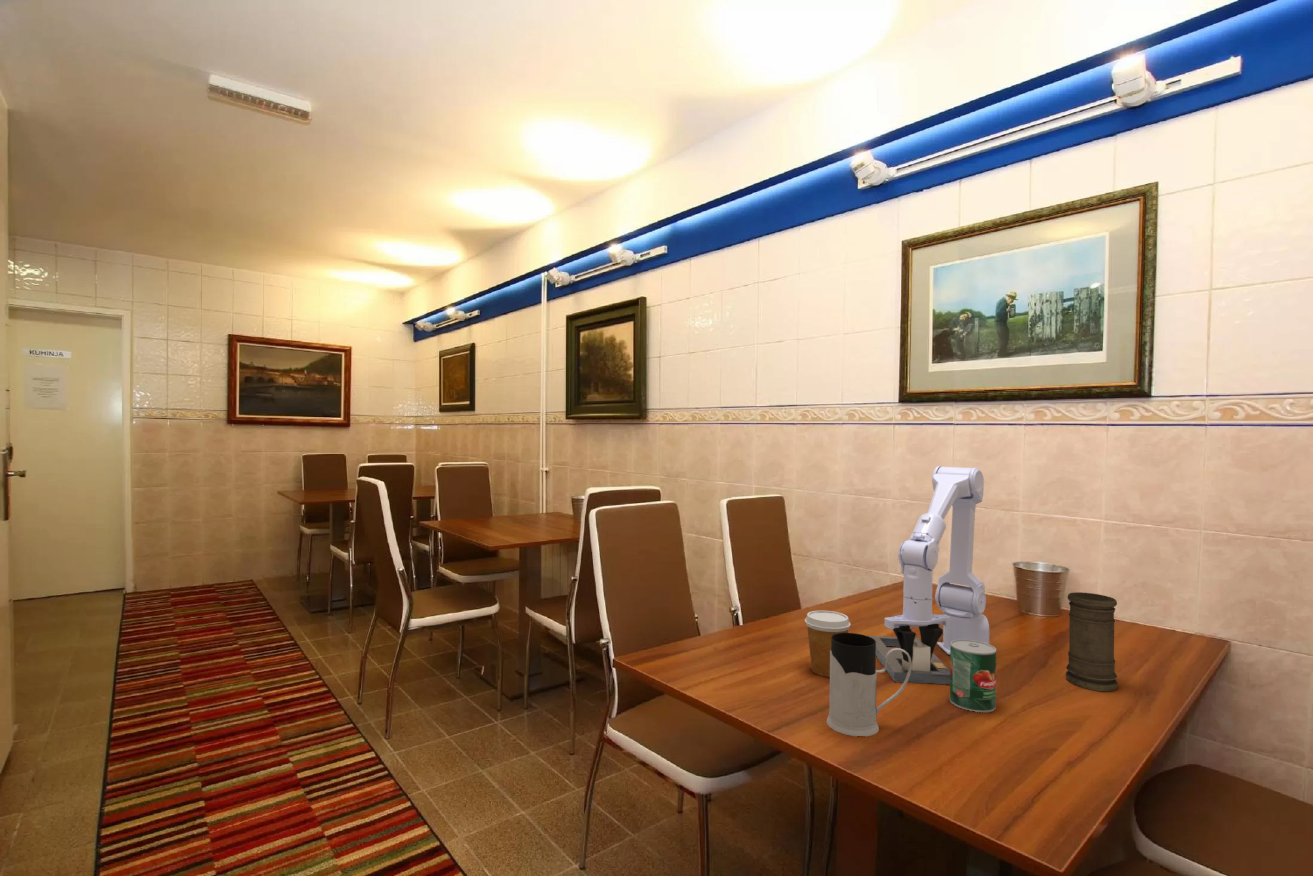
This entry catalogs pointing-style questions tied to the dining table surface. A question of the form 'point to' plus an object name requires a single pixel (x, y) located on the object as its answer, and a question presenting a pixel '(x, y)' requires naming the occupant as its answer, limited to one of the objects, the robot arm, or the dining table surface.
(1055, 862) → the dining table surface
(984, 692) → the canned tomato
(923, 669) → the plug
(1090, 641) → the container
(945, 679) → the panel
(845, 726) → the grey beer mug
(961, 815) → the dining table surface
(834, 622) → the disposable coffee cup
